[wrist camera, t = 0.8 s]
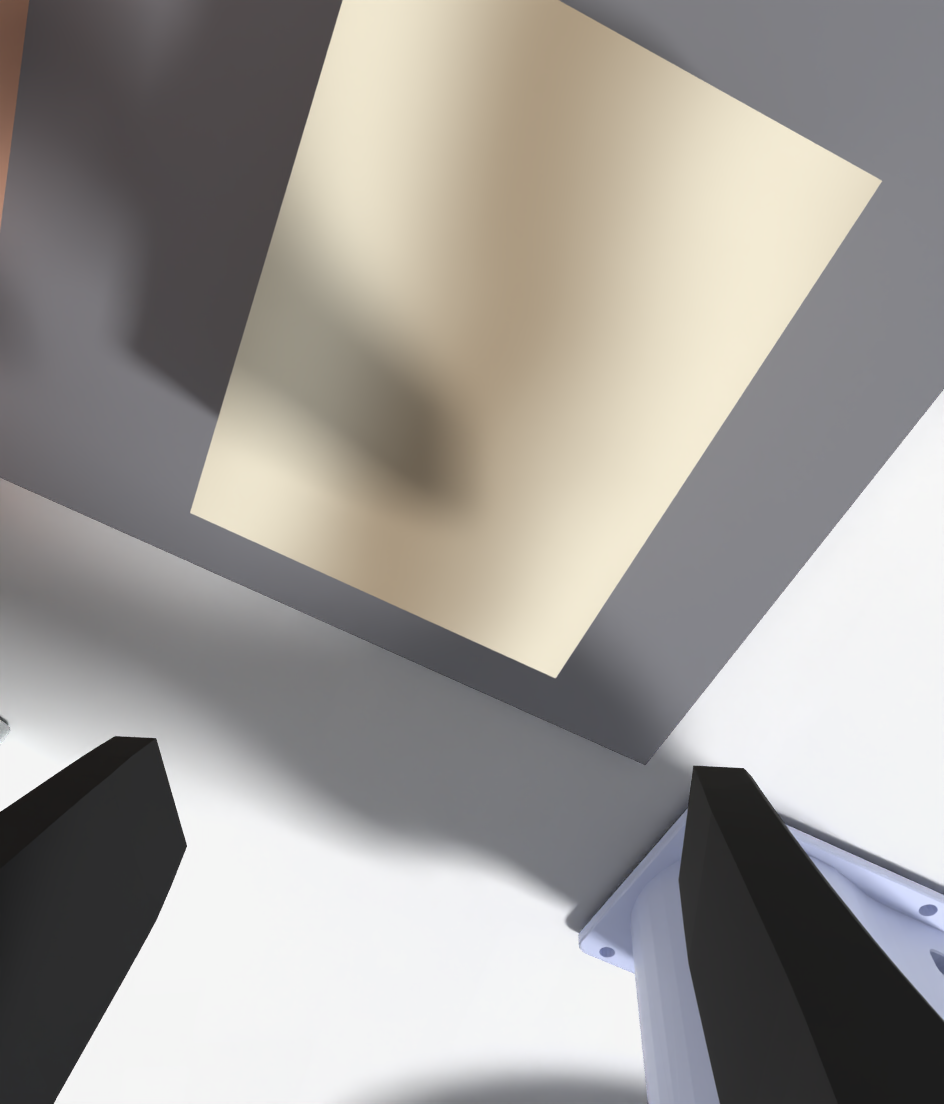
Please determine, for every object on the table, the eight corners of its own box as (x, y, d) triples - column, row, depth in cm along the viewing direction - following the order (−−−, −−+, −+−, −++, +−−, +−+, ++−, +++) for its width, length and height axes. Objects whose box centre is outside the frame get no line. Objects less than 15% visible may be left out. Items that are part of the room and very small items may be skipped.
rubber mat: (1265, -37, 12) (1287, -44, 12) (644, 755, 21) (645, 765, 20) (-208, -969, 10) (-239, -1016, 9) (-207, 375, 18) (-221, 379, 18)
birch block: (798, 186, 14) (882, 180, 10) (556, 585, 18) (555, 678, 15) (423, -20, 13) (373, -104, 9) (265, 449, 17) (190, 512, 14)
